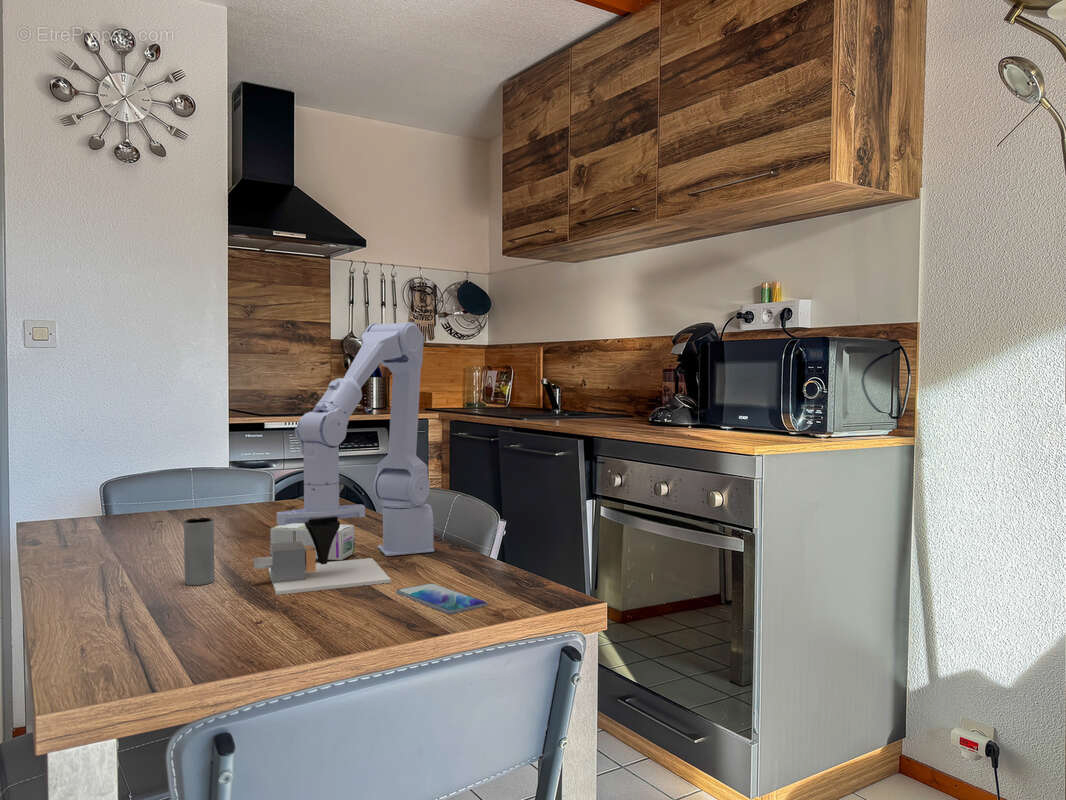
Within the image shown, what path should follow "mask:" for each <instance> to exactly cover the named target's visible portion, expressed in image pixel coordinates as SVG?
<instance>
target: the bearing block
mask: <svg viewBox="0 0 1066 800" xmlns="http://www.w3.org/2000/svg"><path fill="white" fill-rule="evenodd" d="M269 547H270V549H269V554H270V556H272V567H271V577H272V580H273V583H281V582H291V581H300V580H305V547H304V546H303V544H302V542H301V541H298V542H286V543H274V544H269ZM270 556H269V557H270ZM271 577H270V578H271Z"/></svg>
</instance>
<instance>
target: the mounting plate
mask: <svg viewBox="0 0 1066 800" xmlns="http://www.w3.org/2000/svg"><path fill="white" fill-rule="evenodd" d="M268 574H269V577H270V580H271V584H272V586H273V587H272V588H273V590H274V593H275V596H279V595H281V596H282V595H288V594H297V593H308V592H309V593H310V592H316V591H317V592H318V591H325V590H336V589H337V590H338V589H346V588H353V587H355V588H356V587H363V586H364V585H365V586H373V585H374V584H375V585H382V584H383V583H384V584H391V583H392V578H391V577H389V575H388V574H387V573H386V572H385V571H384V570H383V568H382V567H381V566H380V565H379V564H378V563H377V562H376V561H375V560H374V558H372V557H367V558H359V559H358V558H357V559H348V560H347V559H346V560H334V561H327V564H323V565H322V564H320V563H319V562H316V571H315V572H306V571H305V580H300V581H291V582H281V583H273V580H272V577H271V568H268Z"/></svg>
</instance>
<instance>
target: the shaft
mask: <svg viewBox="0 0 1066 800" xmlns="http://www.w3.org/2000/svg"><path fill="white" fill-rule="evenodd" d="M304 547H305V571H306V572H315V571H316V563H317V562H316V560H317V559H316V550H315V548H314V547H313V545H307V546H304ZM253 567H254V568H253V569H254V570H258V569H259V570H260V569H261V570H262V569H269V568H271V567H272V556H260V557H253Z"/></svg>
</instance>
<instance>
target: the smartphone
mask: <svg viewBox="0 0 1066 800" xmlns="http://www.w3.org/2000/svg"><path fill="white" fill-rule="evenodd" d="M396 593H397V594H396ZM395 594H396V595H398V594H399V595H398V596H400V595H402V596H401V597H403V596H405V597H407V598H406V599H408V598H410V599H409V600H411V599H412V600H411V601H413V600H414V601H413V602H416V601H417V602H416V603H418V602H419V604H421V605H423V604H424V606H427V607H428V608H431V609H434V610H436V611H439V612H441V613H444V614H446V613H447V615H456V613H457V614H460V613H459V612H461V613H465V612H468V610H469V611H472V609H473V610H476V609H477V610H478V609H480V608H484V607H487V606H488V602H487V601H485V600H483V599H482V600H481V599H479V598H477V597H473V596H471V595H467V594H465V593H461V592H459V591H456V590H453V589H450V588H447V587H445V586H442V585H439V584H436V583H425V584H420V585H414V586H409V587H403V588H399V589H396V591H395ZM405 597H404V598H405ZM464 611H465V612H464Z"/></svg>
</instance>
